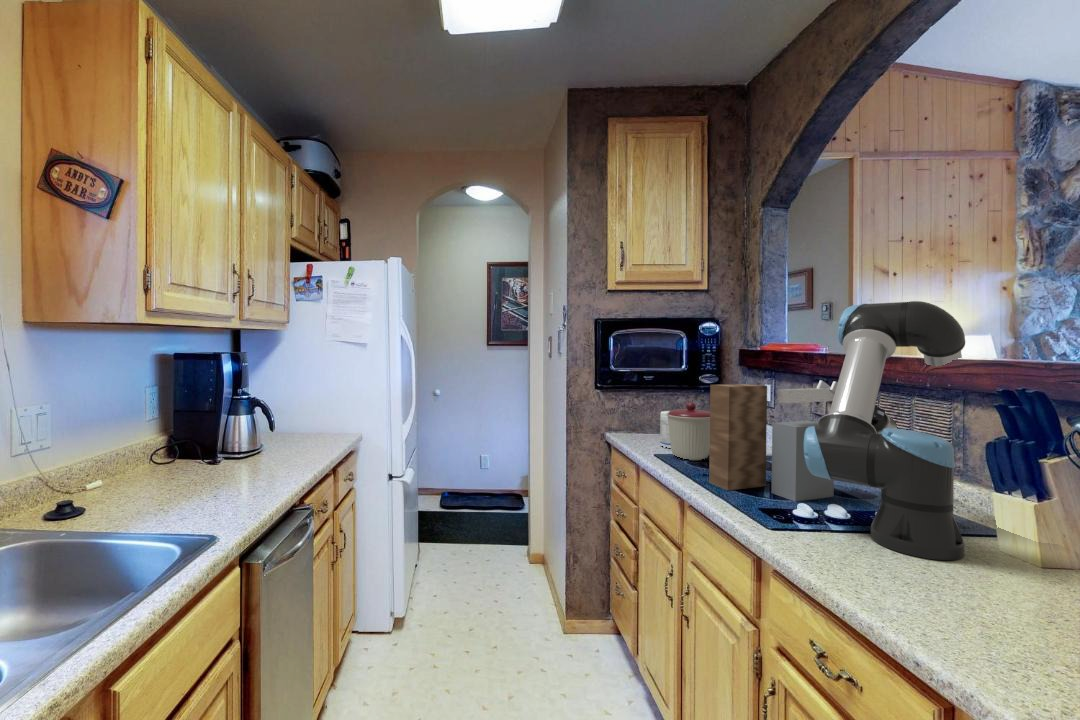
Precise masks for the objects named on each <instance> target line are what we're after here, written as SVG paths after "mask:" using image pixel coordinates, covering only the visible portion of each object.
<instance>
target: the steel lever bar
mask: <svg viewBox="0 0 1080 720" xmlns="http://www.w3.org/2000/svg"><path fill="white" fill-rule="evenodd" d="M830 388H831V386H830V387H829V388H817V387H809V388H807V387H806V388H805V387H804V388H803V387H802V388H780V389H779V388H777V392H776V393H777V395H776V397H777V399H776V400H777V401H776V402H777V403H783V404H796V403H797V404H799V403H802V404H803V403H817V402H819V403H820V402H827V401H833V398H834V394H835V393H834V392H832V391H831V390H830Z"/></svg>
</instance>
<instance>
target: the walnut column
mask: <svg viewBox="0 0 1080 720" xmlns="http://www.w3.org/2000/svg"><path fill="white" fill-rule="evenodd" d="M709 387H710V388H709V389H710V390H709V391H710V394H709V396H710V397H709V399H710V400H709V412H710V454H709V456H708V457H709V468H708V470H709V471H708V472H709V473H708V474H709V475H708V476H709V477H708V479H709V481H708V483H709V484H710V483H711V484H710V485H713V486H716V487H719V488H720V489H723V490H726V491H734V490H742V489H751V488H752V489H753V488H761V487H766V486H767V483H766V482H767V476H766V475H767V427H768V426H767V423H768V417H767V415H768V413H767V412H768V411H767V410H768V386H767V385H763V384H761V385H759V384H750V383H741V384H740V383H739V384H738V383H737V384H736V383H735V384H732V383H730V384H710V385H709Z"/></svg>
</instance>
